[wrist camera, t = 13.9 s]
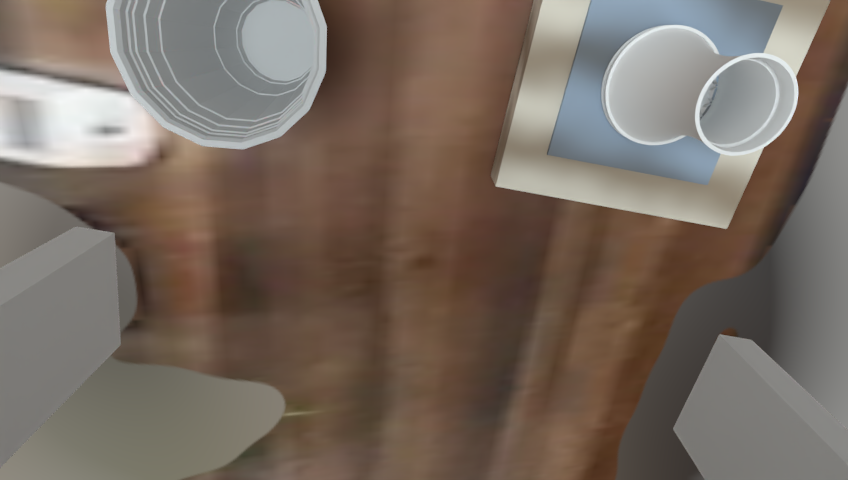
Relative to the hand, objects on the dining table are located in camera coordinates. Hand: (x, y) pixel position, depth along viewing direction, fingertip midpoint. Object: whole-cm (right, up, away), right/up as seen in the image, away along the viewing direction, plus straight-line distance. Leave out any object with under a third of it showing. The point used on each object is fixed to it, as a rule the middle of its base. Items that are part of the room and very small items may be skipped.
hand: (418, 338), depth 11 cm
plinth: (+16, +14, +25) cm, 33 cm away
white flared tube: (+16, +13, +22) cm, 30 cm away
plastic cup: (-10, +17, +24) cm, 31 cm away
